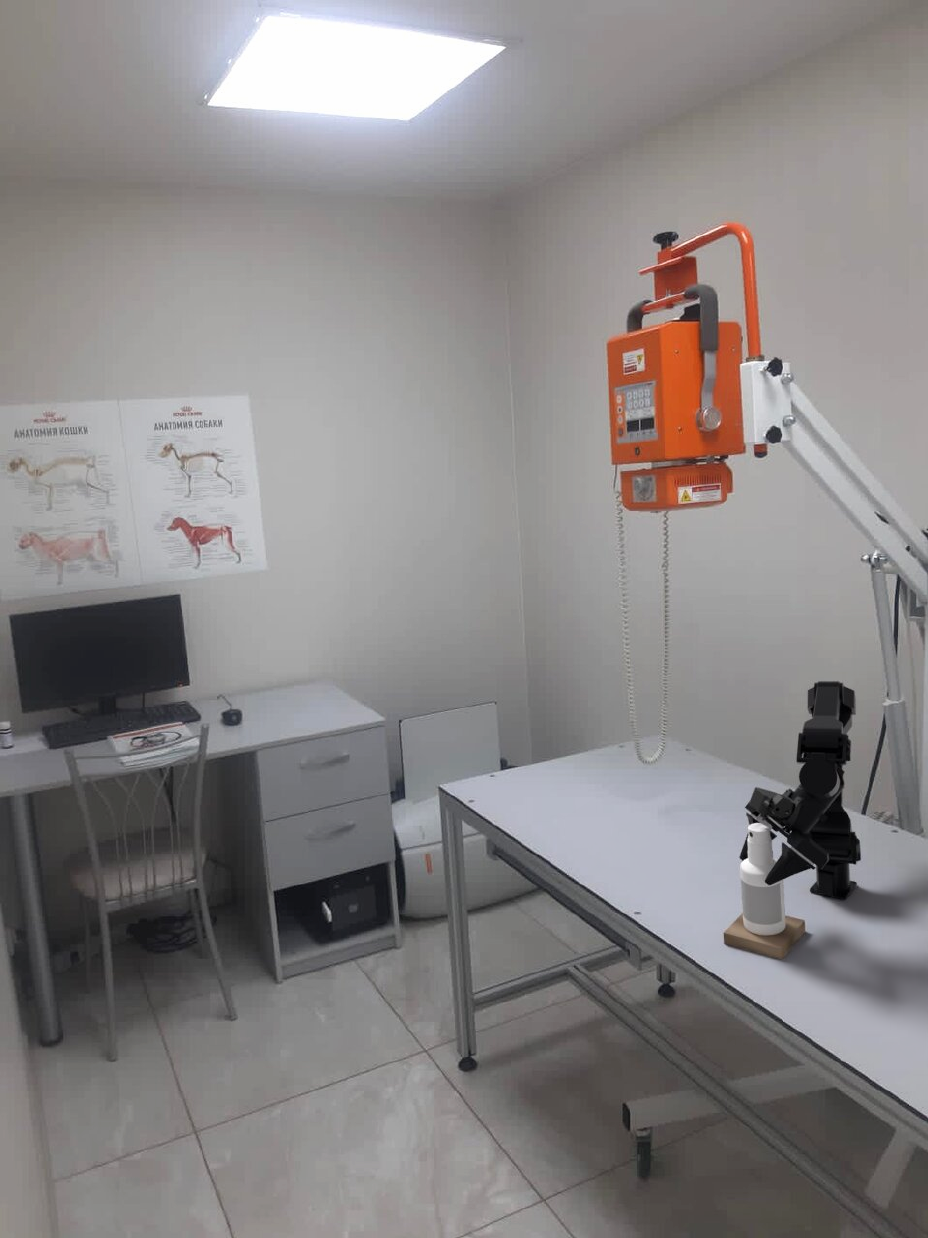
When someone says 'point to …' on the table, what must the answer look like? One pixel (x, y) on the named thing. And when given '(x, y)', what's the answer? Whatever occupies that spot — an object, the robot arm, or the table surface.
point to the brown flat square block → (765, 937)
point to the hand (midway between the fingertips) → (753, 871)
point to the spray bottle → (761, 886)
